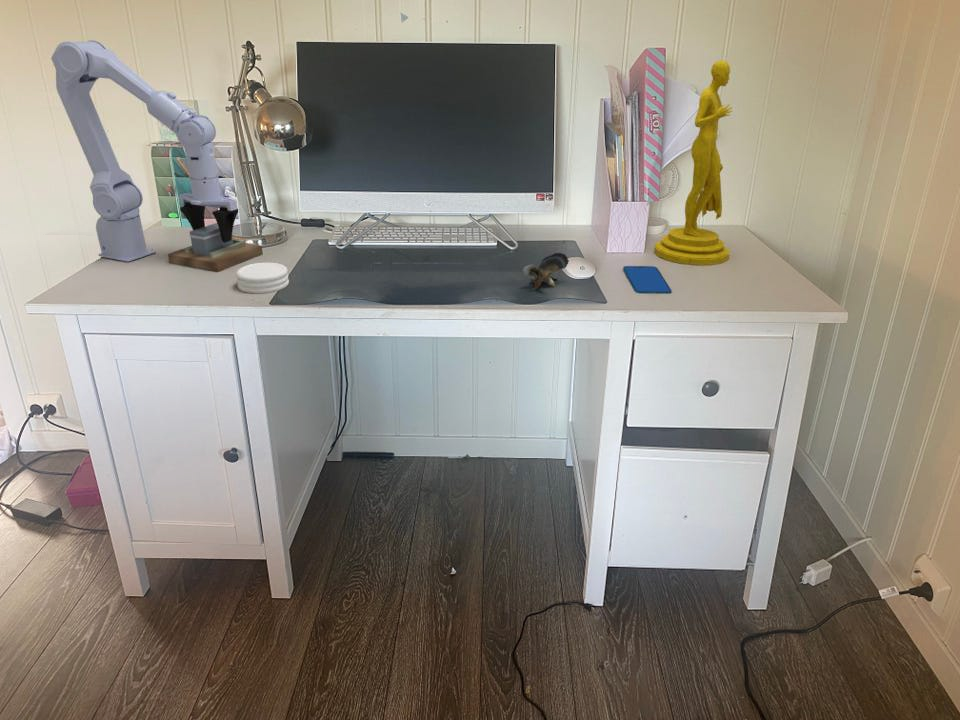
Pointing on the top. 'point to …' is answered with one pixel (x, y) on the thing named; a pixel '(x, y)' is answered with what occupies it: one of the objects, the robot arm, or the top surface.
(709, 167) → the statue
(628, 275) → the smartphone
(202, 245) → the blue-grey lidded box
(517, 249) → the top surface
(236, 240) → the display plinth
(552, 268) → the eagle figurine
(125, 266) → the top surface
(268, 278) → the white short ridged cylinder
